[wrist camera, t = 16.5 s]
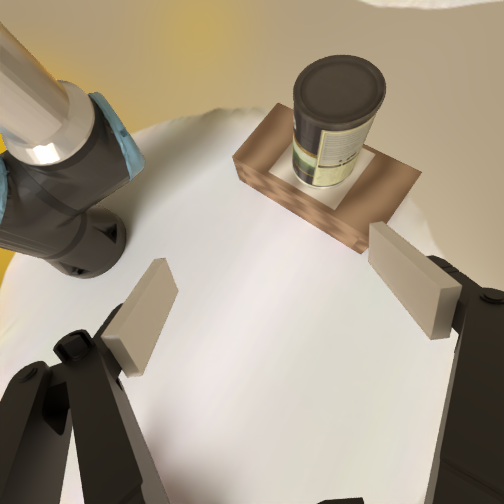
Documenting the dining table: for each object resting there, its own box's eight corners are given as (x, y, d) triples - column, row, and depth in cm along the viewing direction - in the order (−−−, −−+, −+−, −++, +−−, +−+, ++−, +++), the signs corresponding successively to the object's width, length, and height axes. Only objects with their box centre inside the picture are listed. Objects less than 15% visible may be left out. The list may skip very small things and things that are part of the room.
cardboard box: (239, 179, 53) (231, 155, 45) (279, 131, 55) (277, 101, 47) (360, 254, 45) (375, 240, 38) (401, 195, 47) (422, 171, 40)
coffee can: (282, 179, 42) (279, 111, 29) (304, 131, 45) (311, 47, 31) (342, 198, 40) (370, 134, 27) (363, 146, 42) (398, 62, 29)
